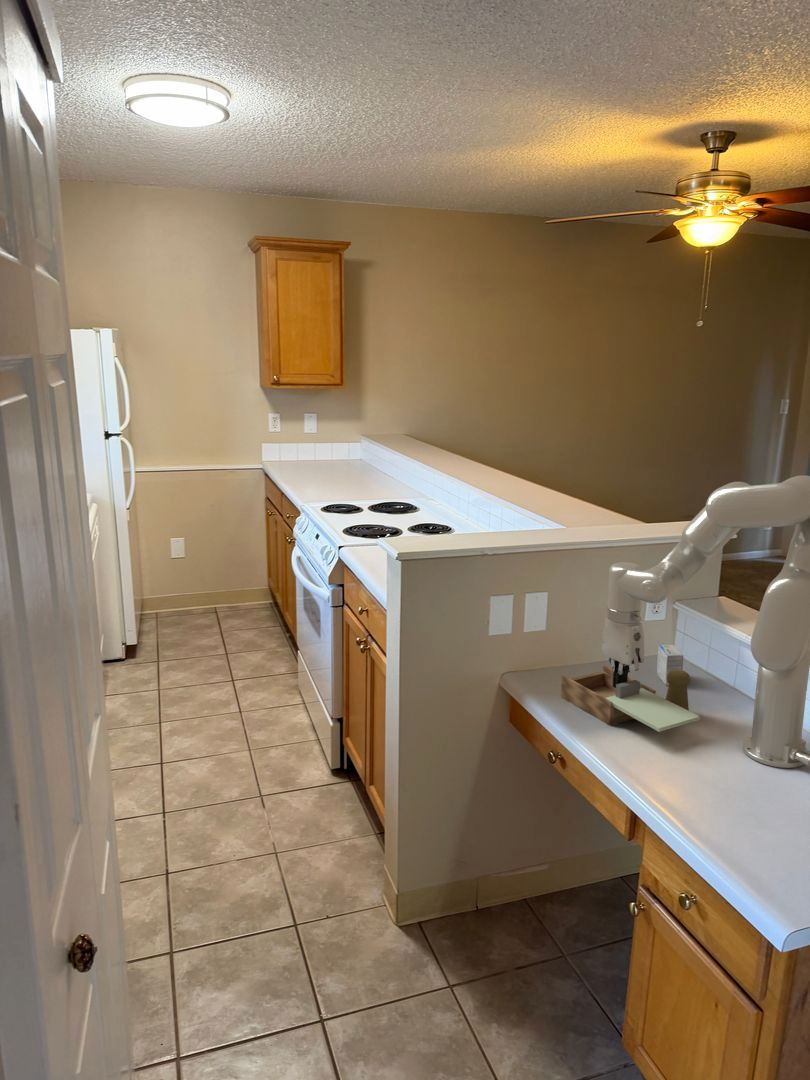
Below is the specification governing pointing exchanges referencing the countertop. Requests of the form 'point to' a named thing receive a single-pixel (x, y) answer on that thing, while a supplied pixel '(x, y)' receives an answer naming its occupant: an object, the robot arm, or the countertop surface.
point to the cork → (678, 688)
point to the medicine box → (668, 661)
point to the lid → (649, 707)
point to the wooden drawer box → (595, 695)
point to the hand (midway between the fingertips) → (619, 687)
